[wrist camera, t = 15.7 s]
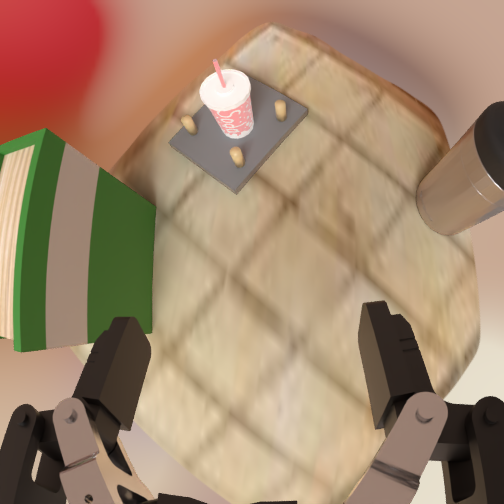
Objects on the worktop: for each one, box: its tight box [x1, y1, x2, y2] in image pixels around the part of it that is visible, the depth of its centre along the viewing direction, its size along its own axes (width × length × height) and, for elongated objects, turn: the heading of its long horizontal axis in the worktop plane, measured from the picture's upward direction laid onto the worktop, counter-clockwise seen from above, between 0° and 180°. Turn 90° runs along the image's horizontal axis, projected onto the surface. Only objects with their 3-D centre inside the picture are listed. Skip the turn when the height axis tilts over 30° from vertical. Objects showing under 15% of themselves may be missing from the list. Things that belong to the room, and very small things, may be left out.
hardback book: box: [0, 128, 156, 352], centre depth 31 cm, size 18×7×24 cm, turn 0°
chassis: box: [169, 75, 308, 195], centre depth 42 cm, size 16×13×5 cm
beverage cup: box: [199, 59, 254, 139], centre depth 36 cm, size 6×6×14 cm
